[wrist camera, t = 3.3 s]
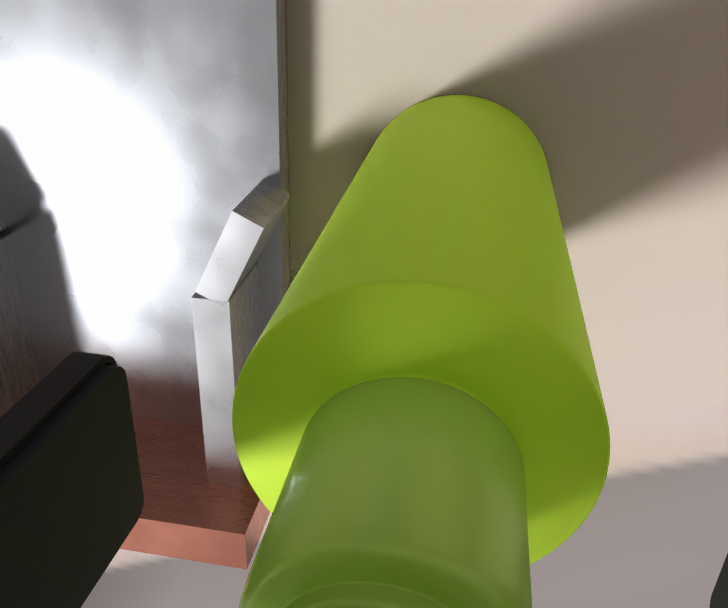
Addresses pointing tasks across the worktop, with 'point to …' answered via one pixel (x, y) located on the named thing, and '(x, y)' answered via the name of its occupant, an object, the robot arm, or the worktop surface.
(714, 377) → the worktop surface
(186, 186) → the grey slotted bracket
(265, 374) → the soap dispenser
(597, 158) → the worktop surface
